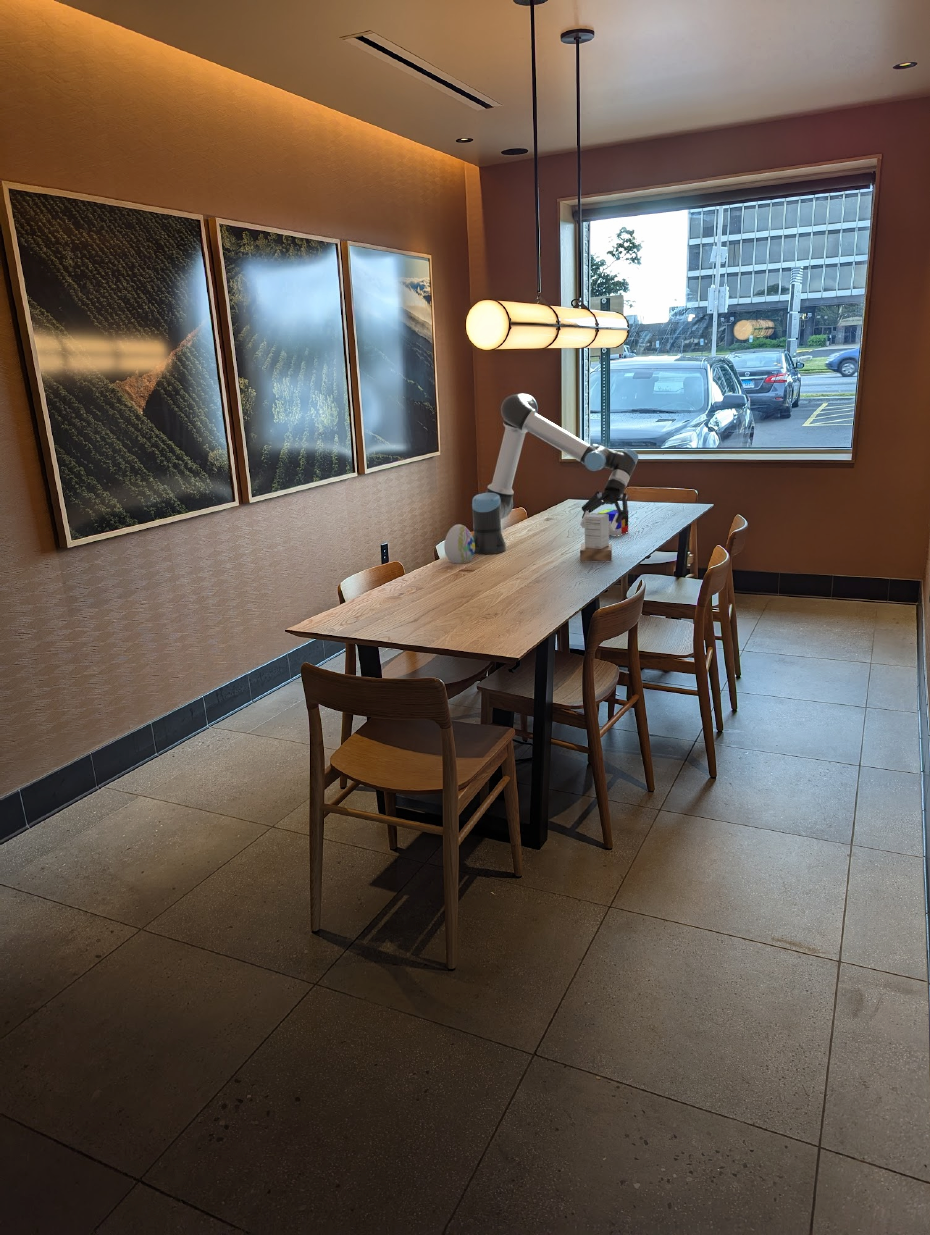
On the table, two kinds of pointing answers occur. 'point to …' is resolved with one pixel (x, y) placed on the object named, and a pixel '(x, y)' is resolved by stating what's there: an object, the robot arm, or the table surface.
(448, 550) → the decorative egg
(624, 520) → the puzzle toy
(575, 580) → the table surface
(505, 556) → the table surface
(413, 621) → the table surface
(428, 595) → the table surface
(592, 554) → the walnut box
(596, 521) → the supplement box
